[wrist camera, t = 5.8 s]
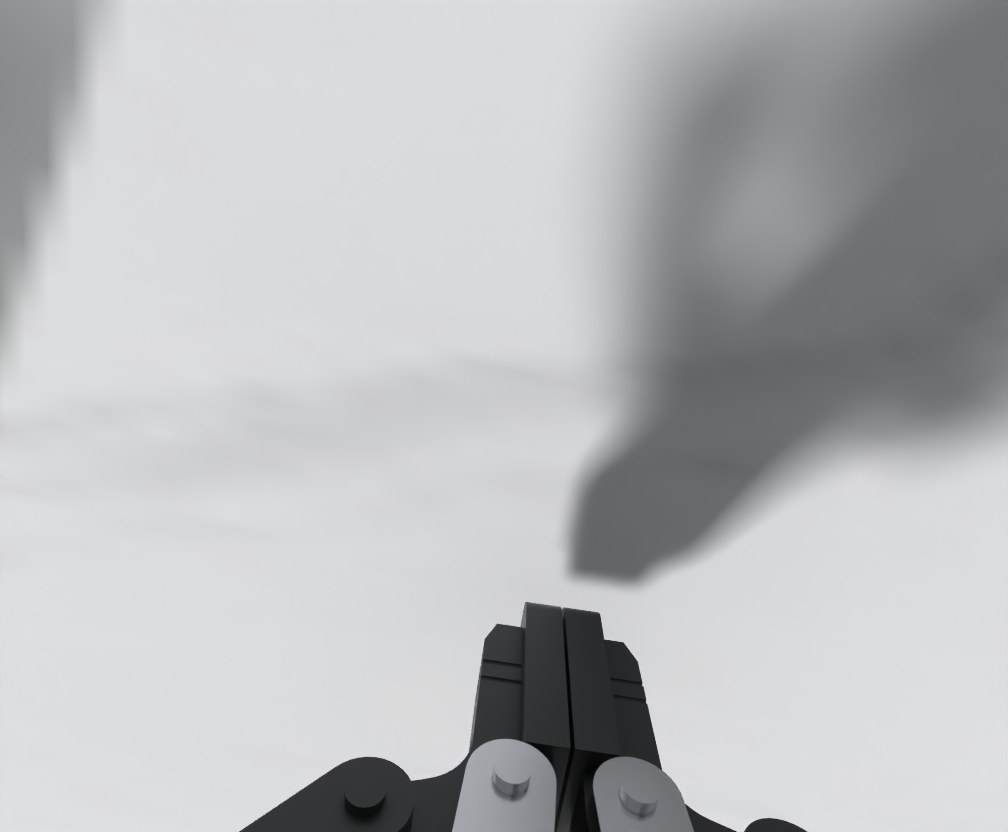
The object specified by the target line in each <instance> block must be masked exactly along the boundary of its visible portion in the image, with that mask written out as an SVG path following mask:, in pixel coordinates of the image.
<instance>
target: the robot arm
mask: <svg viewBox="0 0 1008 832" xmlns="http://www.w3.org/2000/svg"><path fill="white" fill-rule="evenodd" d="M240 832H736V831H734V830H732V829H730V828H727V827H725V826H723V825H721V824H718V823H716V822H714V821H711V820H709V819H707V818H705V817H703V816H701V815H700V814H698V813H697V812H695V811H694V810H692V809H691V808H690V807H688V806H687V805H686V804H685V803H684V800H683V797H682V795H681V792H680V791H679V789H678V787H677V786H676V784H675V783H674V782H673V780H672V779H671V778H670V777H669V776H668V775H667V774H666V773H665V772H663V771H662V768H661V763H660V759H659V754H658V750H657V745H656V741H655V737H654V732H653V728H652V723H651V719H650V714H649V710H648V705H647V704H646V697H645V692H644V688H643V686H642V679H641V674H640V670H639V665H638V661H637V660H636V659H635V657H634V656H633V655H632V653H631V652H630V651H629V649H628V648H627V647H626V645H625V644H624V643H623V642H617V641H611V640H604V636H603V629H602V623H601V617H600V614H599V613H598V612H591V611H584V610H578V609H571V608H564V607H563V609H561V607H556V606H550V605H543V604H536V603H529V602H526V603H525V606H524V611H523V616H522V622H521V627H515V626H509V625H502V624H497V625H496V626H495V627H494V628H493V630H492V631H491V632H490V633H489V635H488V636H487V637H486V638H485V641H484V648H483V654H482V661H481V667H480V674H479V680H478V686H477V693H476V699H475V707H474V715H473V724H472V731H471V739H470V748H469V753H468V755H467V756H466V758H465V759H464V760H463V761H462V762H461V764H460V765H458V766H457V767H456V768H454V769H453V770H451V771H449V772H448V773H446V774H443V775H440V776H437V777H433V778H428V779H422V780H415V781H411V780H410V778H409V777H408V775H407V774H406V773H405V772H404V770H403V769H401V768H400V767H399V766H398V765H396V764H394V763H392V762H391V761H388V760H385V759H382V758H377V757H361V758H356V759H352V760H349V761H346V762H344V763H342V764H340V765H338V766H337V767H335V768H333V769H332V770H330V771H329V772H328V773H326V774H325V775H323V776H322V777H320V778H319V779H317V780H316V781H314V782H313V783H311V784H310V785H308V786H307V787H305V788H304V789H302V790H301V791H299V792H298V793H296V794H295V795H293V796H292V797H290V798H289V799H287V800H286V801H284V802H283V803H281V804H280V805H278V806H277V807H275V808H274V809H272V810H271V811H269V812H268V813H266V814H265V815H263V816H262V817H260V818H259V819H257V820H256V821H254V822H253V823H251V824H250V825H248V826H247V827H245V828H244V829H243V830H241V831H240ZM744 832H807V831H805V830H804V829H802V828H800V827H798V826H796V825H794V824H792V823H789V822H787V821H783V820H779V819H773V818H764V819H759V820H756V821H754V822H752V823H751V824H750V825H749V826H748V827H747V828H746V830H745V831H744Z"/></svg>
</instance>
